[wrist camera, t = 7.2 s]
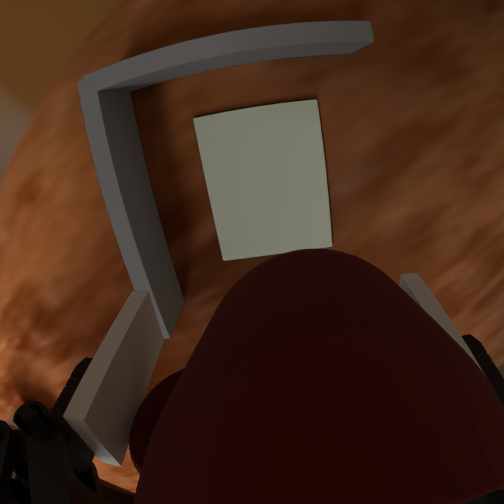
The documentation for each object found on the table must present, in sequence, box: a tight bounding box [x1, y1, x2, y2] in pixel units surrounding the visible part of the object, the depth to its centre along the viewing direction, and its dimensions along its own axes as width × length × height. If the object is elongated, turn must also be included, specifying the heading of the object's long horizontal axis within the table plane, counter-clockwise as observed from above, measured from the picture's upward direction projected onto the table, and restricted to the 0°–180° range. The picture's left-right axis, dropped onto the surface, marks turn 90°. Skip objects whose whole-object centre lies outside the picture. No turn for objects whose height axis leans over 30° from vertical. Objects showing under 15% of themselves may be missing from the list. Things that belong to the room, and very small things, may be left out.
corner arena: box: [77, 21, 374, 339], centre depth 24 cm, size 22×20×6 cm
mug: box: [129, 249, 504, 504], centre depth 8 cm, size 11×8×10 cm
